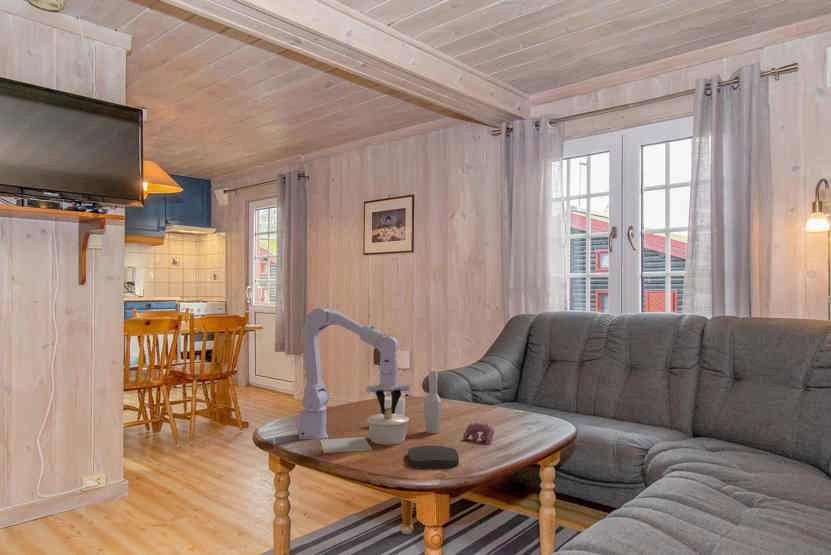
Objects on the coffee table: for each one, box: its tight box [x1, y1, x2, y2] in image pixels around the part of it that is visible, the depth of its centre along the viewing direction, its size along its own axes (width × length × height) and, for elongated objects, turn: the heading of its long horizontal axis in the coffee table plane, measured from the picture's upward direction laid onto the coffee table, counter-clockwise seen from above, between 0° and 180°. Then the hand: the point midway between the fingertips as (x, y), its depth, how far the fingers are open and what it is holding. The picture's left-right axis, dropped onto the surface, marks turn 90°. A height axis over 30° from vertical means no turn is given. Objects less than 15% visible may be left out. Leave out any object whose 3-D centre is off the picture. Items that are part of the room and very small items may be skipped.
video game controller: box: [462, 422, 495, 445], centre depth 191 cm, size 10×5×7 cm, turn 60°
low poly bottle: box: [423, 369, 443, 434], centre depth 201 cm, size 6×6×22 cm
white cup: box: [384, 395, 406, 415], centre depth 211 cm, size 8×8×10 cm
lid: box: [366, 408, 410, 426], centre depth 189 cm, size 14×14×4 cm
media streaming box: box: [407, 444, 460, 469], centre depth 169 cm, size 15×15×3 cm
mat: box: [319, 436, 373, 454], centre depth 183 cm, size 15×15×1 cm
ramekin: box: [367, 422, 409, 446], centre depth 189 cm, size 13×13×7 cm
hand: (387, 413), depth 189 cm, fingers closed on lid, 3 cm apart
